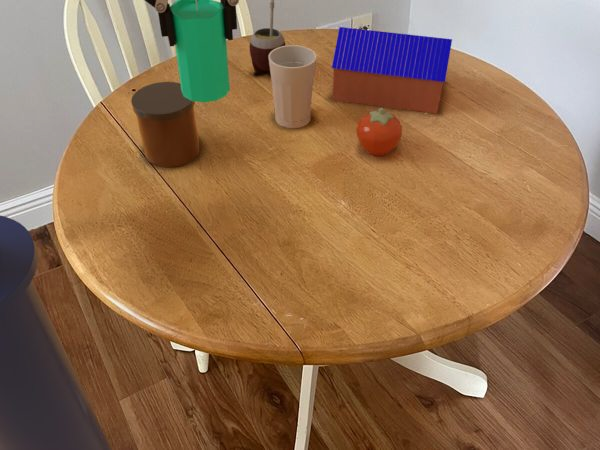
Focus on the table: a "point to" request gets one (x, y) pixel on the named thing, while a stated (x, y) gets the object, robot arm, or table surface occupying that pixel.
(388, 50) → the house
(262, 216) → the table surface
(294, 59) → the cup
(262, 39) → the mate gourd
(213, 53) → the candle
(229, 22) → the robot arm
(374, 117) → the tomato
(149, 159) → the jar
